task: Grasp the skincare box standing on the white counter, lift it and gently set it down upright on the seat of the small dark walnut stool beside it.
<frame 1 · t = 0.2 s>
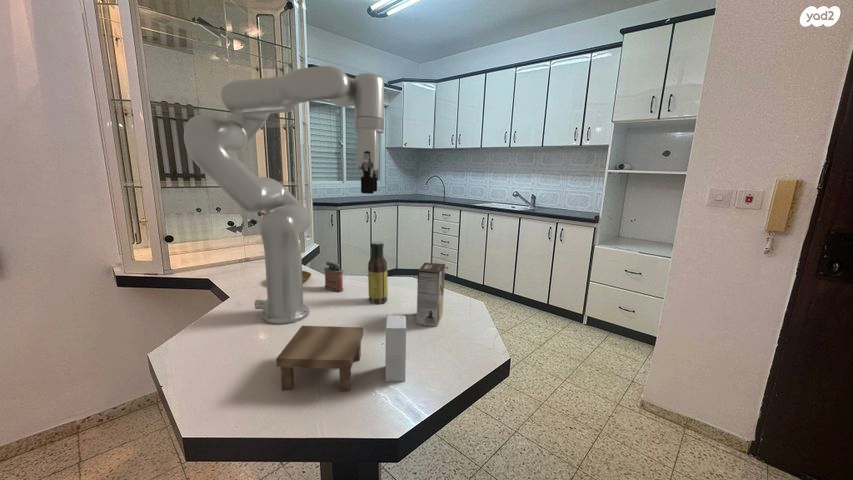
hand: (369, 192, 93), 37 cm above the countertop, tool pointing down, fingers open, 9 cm apart
sauce bottle: (377, 301, 113), on the countertop
skincare box: (395, 374, 73), on the countertop
plant saucer: (290, 282, 129), on the countertop
coffee box: (429, 319, 101), on the countertop
lighter: (333, 289, 123), on the countertop
walnut stool: (324, 371, 73), on the countertop
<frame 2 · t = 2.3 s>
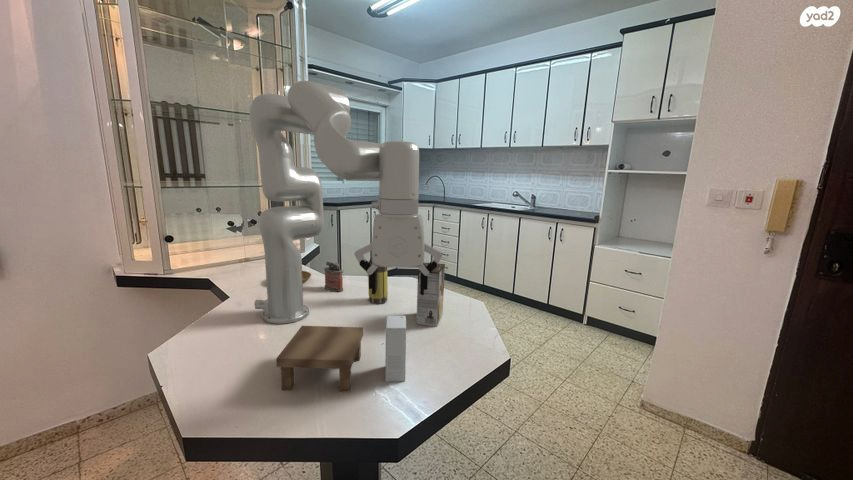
hand: (398, 292, 69), 18 cm above the countertop, tool pointing down, fingers open, 9 cm apart
nothing on the countertop moved.
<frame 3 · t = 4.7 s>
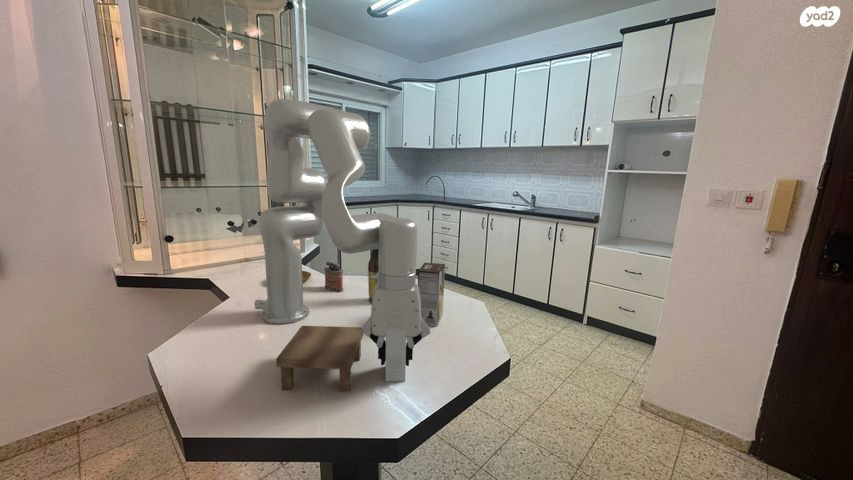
hand: (395, 361, 73), 3 cm above the countertop, tool pointing down, fingers closed on skincare box, 4 cm apart
skincare box: (395, 374, 73), on the countertop, touching gripper
everything else where it was.
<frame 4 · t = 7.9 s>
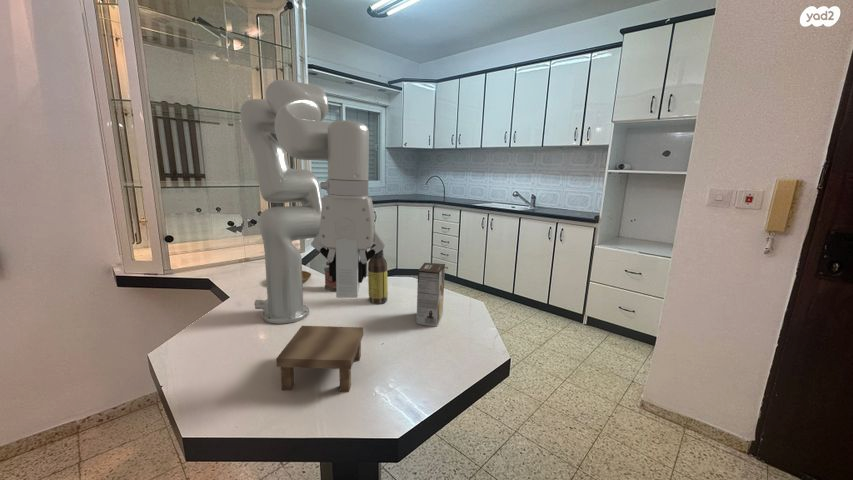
hand: (348, 279, 69), 21 cm above the countertop, tool pointing down, fingers closed on skincare box, 4 cm apart
skincare box: (348, 293, 70), point 18 cm above the countertop, touching gripper
everything else where it was.
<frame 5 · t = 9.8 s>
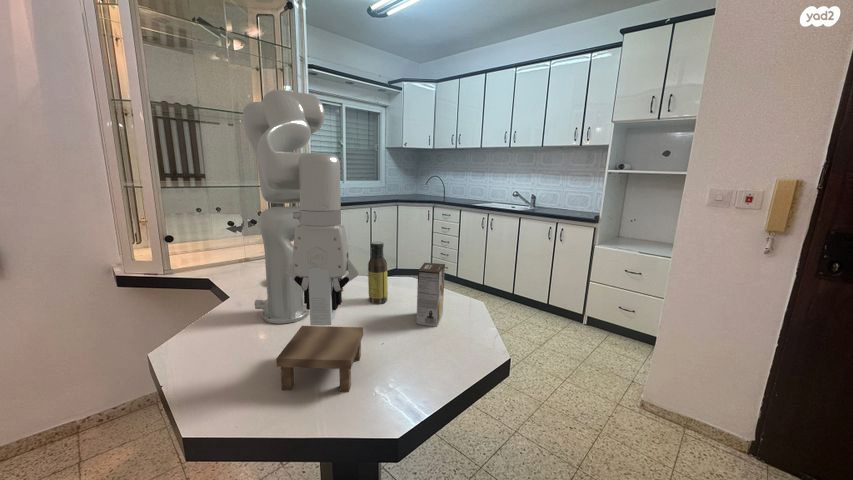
hand: (323, 306, 70), 15 cm above the countertop, tool pointing down, fingers closed on skincare box, 4 cm apart
skincare box: (323, 320, 71), point 12 cm above the countertop, touching gripper
everything else where it was.
when the fingers open (11 cm above the countertop, at t = 11.4 s): skincare box drops 1 cm, resting on walnut stool.
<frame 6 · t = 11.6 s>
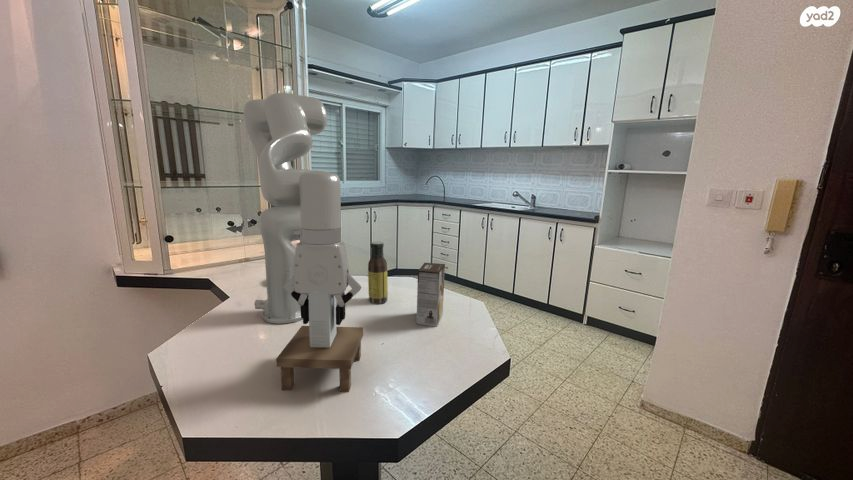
hand: (323, 321, 71), 12 cm above the countertop, tool pointing down, fingers open, 6 cm apart
skincare box: (323, 341, 72), point 7 cm above the countertop, touching walnut stool
everything else where it was.
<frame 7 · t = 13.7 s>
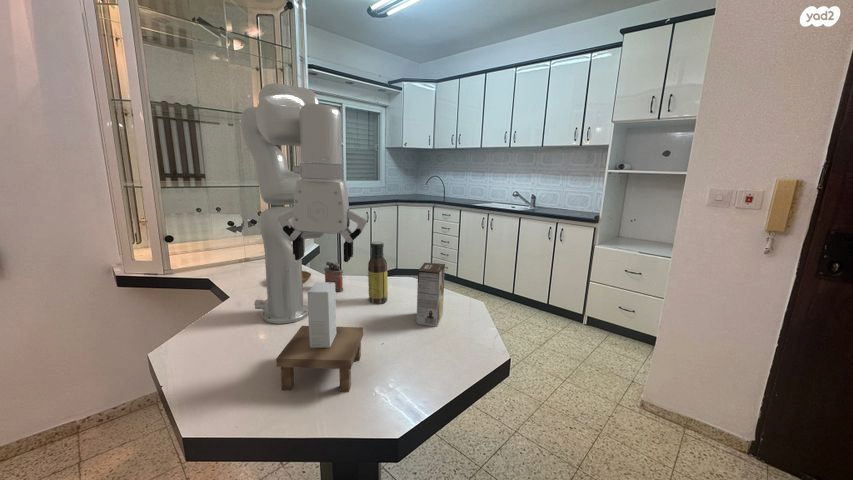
hand: (323, 259, 69), 24 cm above the countertop, tool pointing down, fingers open, 9 cm apart
nothing on the countertop moved.
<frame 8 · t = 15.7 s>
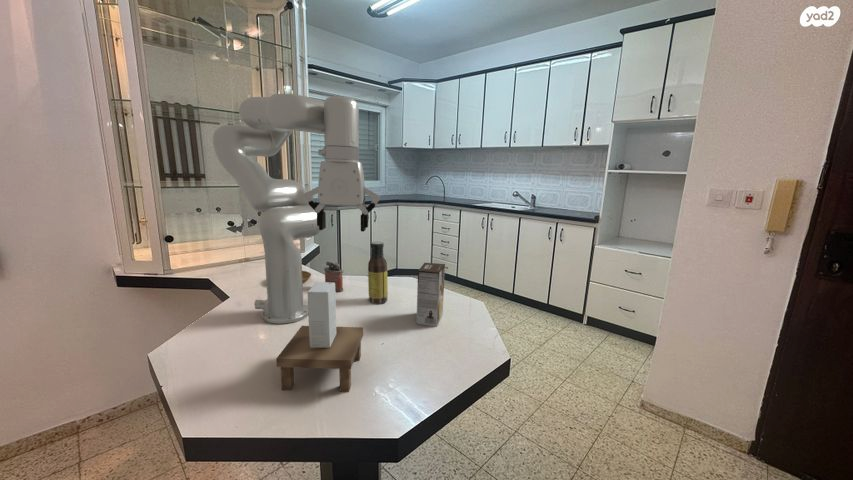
hand: (342, 229, 81), 28 cm above the countertop, tool pointing down, fingers open, 9 cm apart
nothing on the countertop moved.
at the end: skincare box inside the target area on the walnut stool (0.2 cm from its centre), point 6.8 cm above the walnut stool's base; skincare box tilted 0°; the gripper is holding nothing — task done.
